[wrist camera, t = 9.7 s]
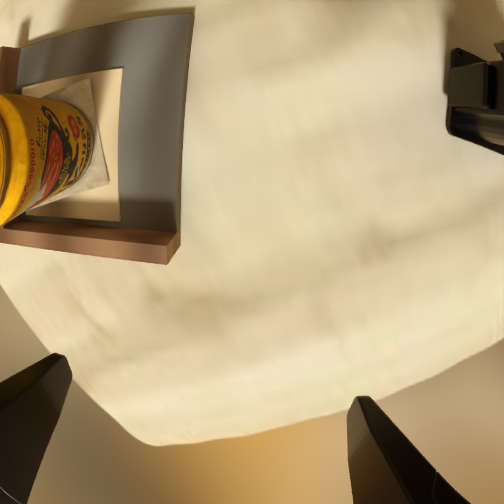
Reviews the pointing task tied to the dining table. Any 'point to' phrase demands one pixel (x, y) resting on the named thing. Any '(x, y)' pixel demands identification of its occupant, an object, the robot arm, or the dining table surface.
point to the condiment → (48, 148)
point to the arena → (114, 136)
